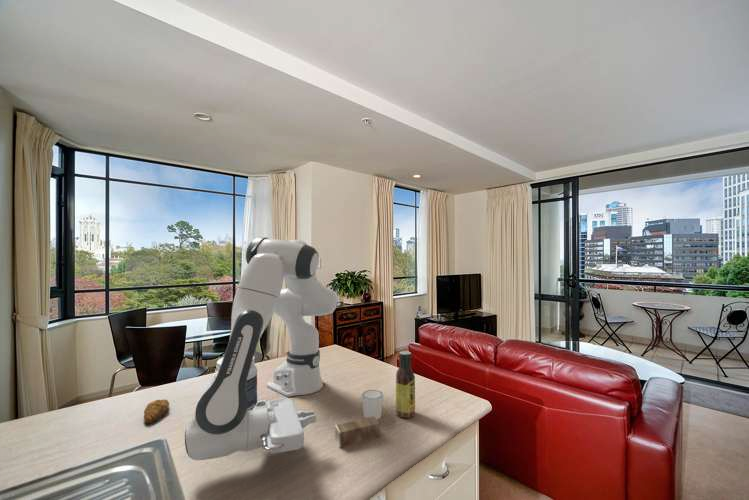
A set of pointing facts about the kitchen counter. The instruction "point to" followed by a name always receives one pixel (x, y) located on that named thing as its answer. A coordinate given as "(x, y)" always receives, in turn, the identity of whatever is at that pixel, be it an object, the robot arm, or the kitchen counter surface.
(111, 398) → the kitchen counter surface
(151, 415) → the croissant
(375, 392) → the white tapered cylinder
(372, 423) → the walnut block
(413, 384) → the sauce bottle
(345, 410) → the kitchen counter surface
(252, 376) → the supplement tub
